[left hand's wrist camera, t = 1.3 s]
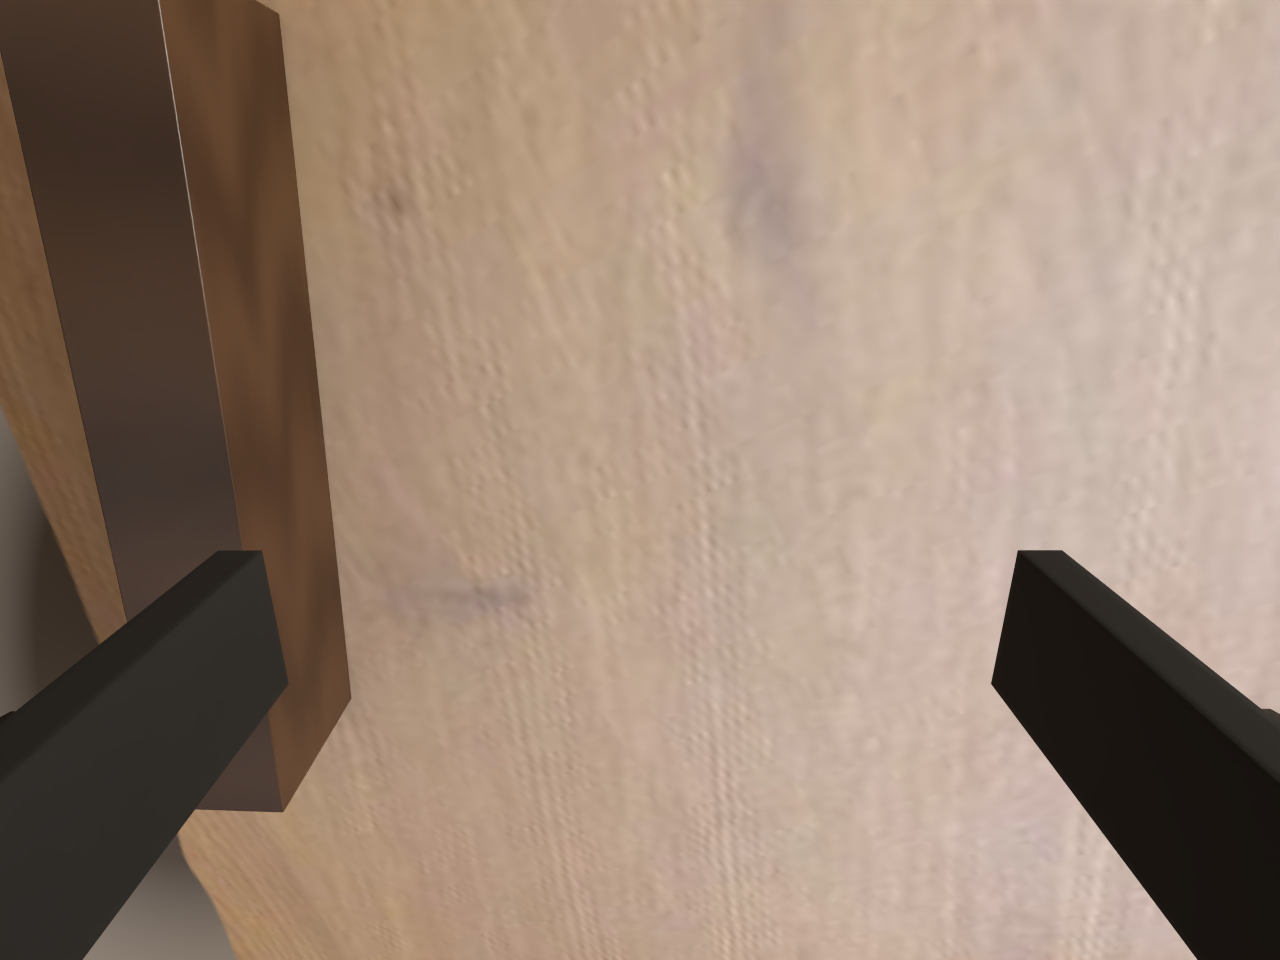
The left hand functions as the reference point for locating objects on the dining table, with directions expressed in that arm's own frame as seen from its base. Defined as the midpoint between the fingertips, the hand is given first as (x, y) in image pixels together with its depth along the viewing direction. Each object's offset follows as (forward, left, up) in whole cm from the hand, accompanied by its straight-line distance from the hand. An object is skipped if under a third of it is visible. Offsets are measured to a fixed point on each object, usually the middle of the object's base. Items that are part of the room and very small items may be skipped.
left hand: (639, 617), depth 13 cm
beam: (+2, -17, -22) cm, 28 cm away
